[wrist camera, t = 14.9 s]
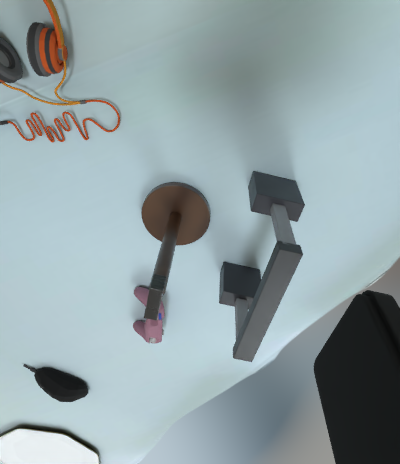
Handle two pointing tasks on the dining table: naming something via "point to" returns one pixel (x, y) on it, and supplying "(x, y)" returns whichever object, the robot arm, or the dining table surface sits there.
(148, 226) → the headphone stand
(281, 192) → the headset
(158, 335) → the video game controller
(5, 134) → the dining table surface
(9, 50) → the headphones
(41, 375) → the gaming mouse
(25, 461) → the plate
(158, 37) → the dining table surface
